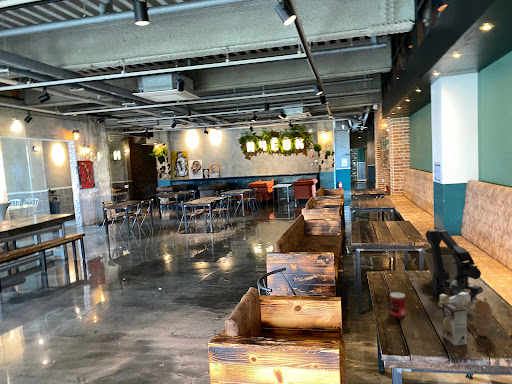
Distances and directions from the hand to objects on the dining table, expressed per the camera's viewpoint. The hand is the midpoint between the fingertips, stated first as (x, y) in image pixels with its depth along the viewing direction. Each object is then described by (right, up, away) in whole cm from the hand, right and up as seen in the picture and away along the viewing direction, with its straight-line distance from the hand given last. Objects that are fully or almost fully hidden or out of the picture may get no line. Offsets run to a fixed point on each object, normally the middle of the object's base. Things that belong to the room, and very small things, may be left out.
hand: (462, 301), depth 210 cm
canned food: (-36, -6, -3) cm, 37 cm away
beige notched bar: (-3, -4, -2) cm, 5 cm away
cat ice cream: (-8, -7, -32) cm, 34 cm away
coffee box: (-22, -8, -34) cm, 41 cm away
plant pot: (+10, 0, +41) cm, 42 cm away
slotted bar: (-3, -4, -2) cm, 5 cm away
